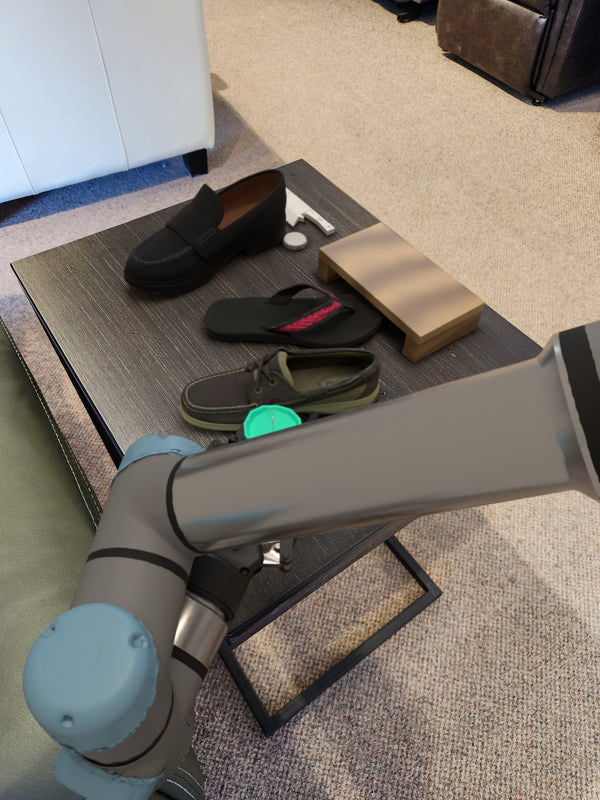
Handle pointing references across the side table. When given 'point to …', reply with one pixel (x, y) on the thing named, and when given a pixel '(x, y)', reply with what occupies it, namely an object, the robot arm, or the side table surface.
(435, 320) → the oak shelf
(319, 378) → the boat shoe
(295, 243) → the white ridged disc
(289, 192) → the white plastic blade
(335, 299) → the sandal
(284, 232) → the loafer
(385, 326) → the side table surface
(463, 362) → the side table surface
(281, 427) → the candle
